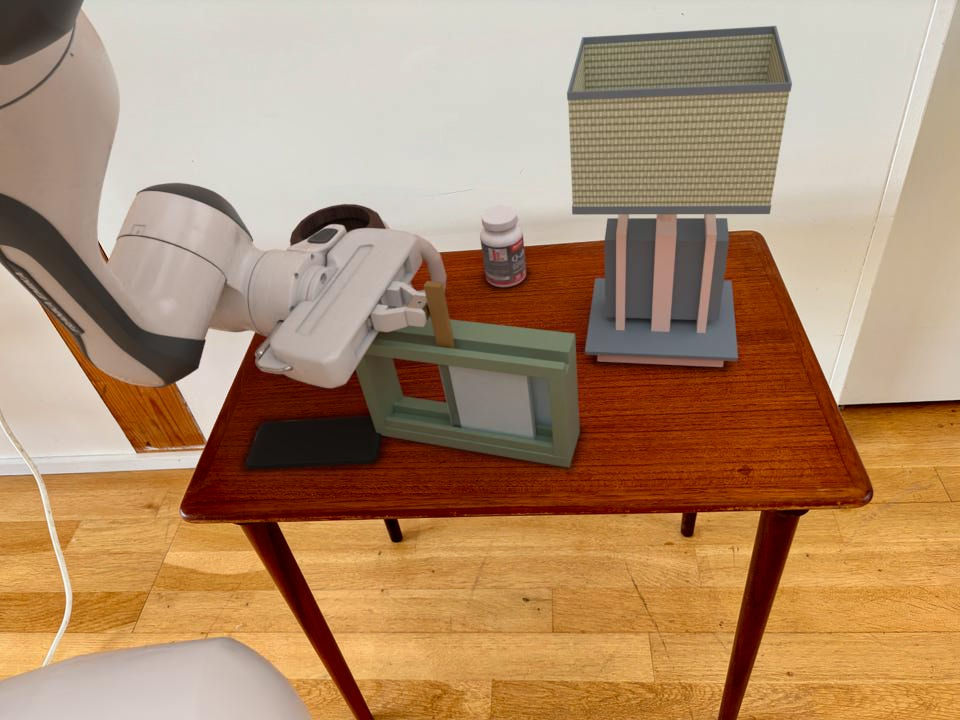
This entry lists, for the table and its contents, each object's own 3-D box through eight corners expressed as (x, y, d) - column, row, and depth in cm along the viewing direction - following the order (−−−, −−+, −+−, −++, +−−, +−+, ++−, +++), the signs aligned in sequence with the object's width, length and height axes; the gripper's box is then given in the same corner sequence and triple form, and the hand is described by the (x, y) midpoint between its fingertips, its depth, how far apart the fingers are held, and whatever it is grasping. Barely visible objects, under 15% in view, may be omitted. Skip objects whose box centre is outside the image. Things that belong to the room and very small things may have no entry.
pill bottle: (523, 289, 96) (517, 226, 89) (482, 288, 97) (473, 226, 91) (529, 264, 100) (523, 202, 94) (489, 264, 101) (481, 203, 95)
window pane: (534, 443, 74) (517, 295, 61) (452, 429, 77) (420, 286, 64) (536, 436, 74) (520, 288, 61) (455, 423, 77) (424, 279, 64)
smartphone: (260, 421, 83) (385, 414, 81) (262, 426, 84) (386, 419, 82) (242, 467, 78) (375, 460, 76) (245, 471, 79) (377, 465, 77)
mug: (294, 360, 91) (255, 264, 81) (324, 289, 102) (292, 196, 92) (446, 356, 88) (425, 255, 78) (460, 283, 99) (443, 186, 89)
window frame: (569, 468, 73) (563, 369, 64) (376, 434, 80) (345, 341, 70) (579, 432, 76) (575, 333, 67) (394, 403, 83) (366, 309, 74)
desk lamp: (736, 296, 89) (775, 24, 68) (743, 374, 79) (792, 84, 58) (589, 293, 94) (582, 36, 72) (578, 366, 84) (566, 94, 62)
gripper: (232, 340, 61) (376, 360, 57) (338, 214, 75) (460, 223, 71) (256, 392, 65) (392, 414, 61) (352, 264, 79) (469, 274, 75)
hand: (429, 310), depth 66 cm, fingers closed, pressing on window pane
